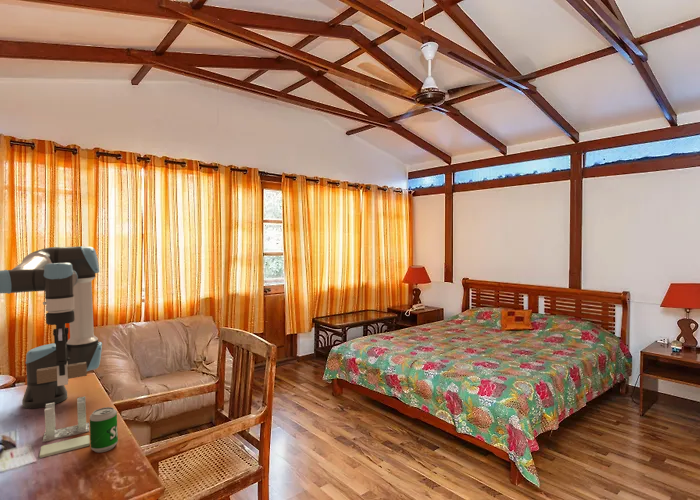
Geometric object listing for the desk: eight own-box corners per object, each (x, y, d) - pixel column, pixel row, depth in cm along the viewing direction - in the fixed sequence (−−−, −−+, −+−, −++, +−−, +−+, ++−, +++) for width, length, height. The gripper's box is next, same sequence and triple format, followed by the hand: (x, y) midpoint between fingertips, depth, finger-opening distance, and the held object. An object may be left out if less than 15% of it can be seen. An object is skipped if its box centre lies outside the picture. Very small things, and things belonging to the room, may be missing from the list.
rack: (44, 434, 141) (43, 404, 140) (89, 423, 148) (87, 395, 148) (42, 442, 135) (41, 411, 135) (89, 431, 142) (88, 401, 142)
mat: (41, 448, 131) (41, 446, 131) (89, 437, 138) (89, 434, 138) (39, 458, 125) (39, 455, 125) (89, 445, 132) (89, 443, 132)
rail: (37, 384, 126) (36, 371, 126) (37, 381, 128) (37, 369, 128) (86, 375, 133) (86, 363, 133) (86, 373, 136) (86, 361, 136)
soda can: (105, 454, 126) (103, 416, 126) (84, 452, 128) (83, 415, 127) (123, 442, 133) (122, 406, 133) (103, 441, 135) (102, 405, 135)
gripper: (47, 309, 135) (50, 379, 135) (43, 315, 122) (46, 393, 122) (74, 306, 139) (77, 374, 140) (73, 312, 126) (76, 387, 126)
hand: (63, 383), depth 131 cm, fingers closed on rail, 3 cm apart
